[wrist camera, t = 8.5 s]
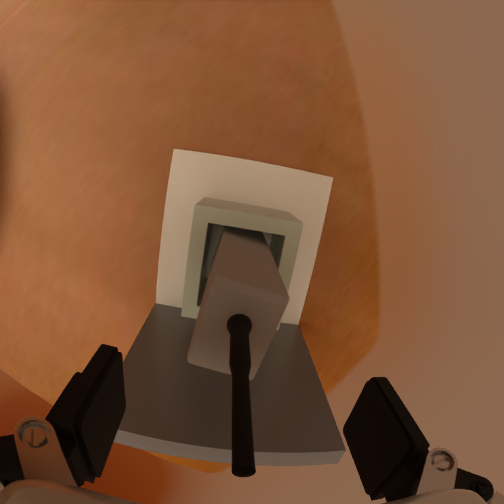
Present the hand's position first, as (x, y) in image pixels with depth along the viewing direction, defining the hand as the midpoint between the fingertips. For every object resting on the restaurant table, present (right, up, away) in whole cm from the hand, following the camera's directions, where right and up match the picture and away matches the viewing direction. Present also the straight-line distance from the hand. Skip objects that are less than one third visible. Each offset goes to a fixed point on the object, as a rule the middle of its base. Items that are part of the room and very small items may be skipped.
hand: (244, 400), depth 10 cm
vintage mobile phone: (-1, +6, +20) cm, 21 cm away
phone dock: (-1, +6, +21) cm, 22 cm away
